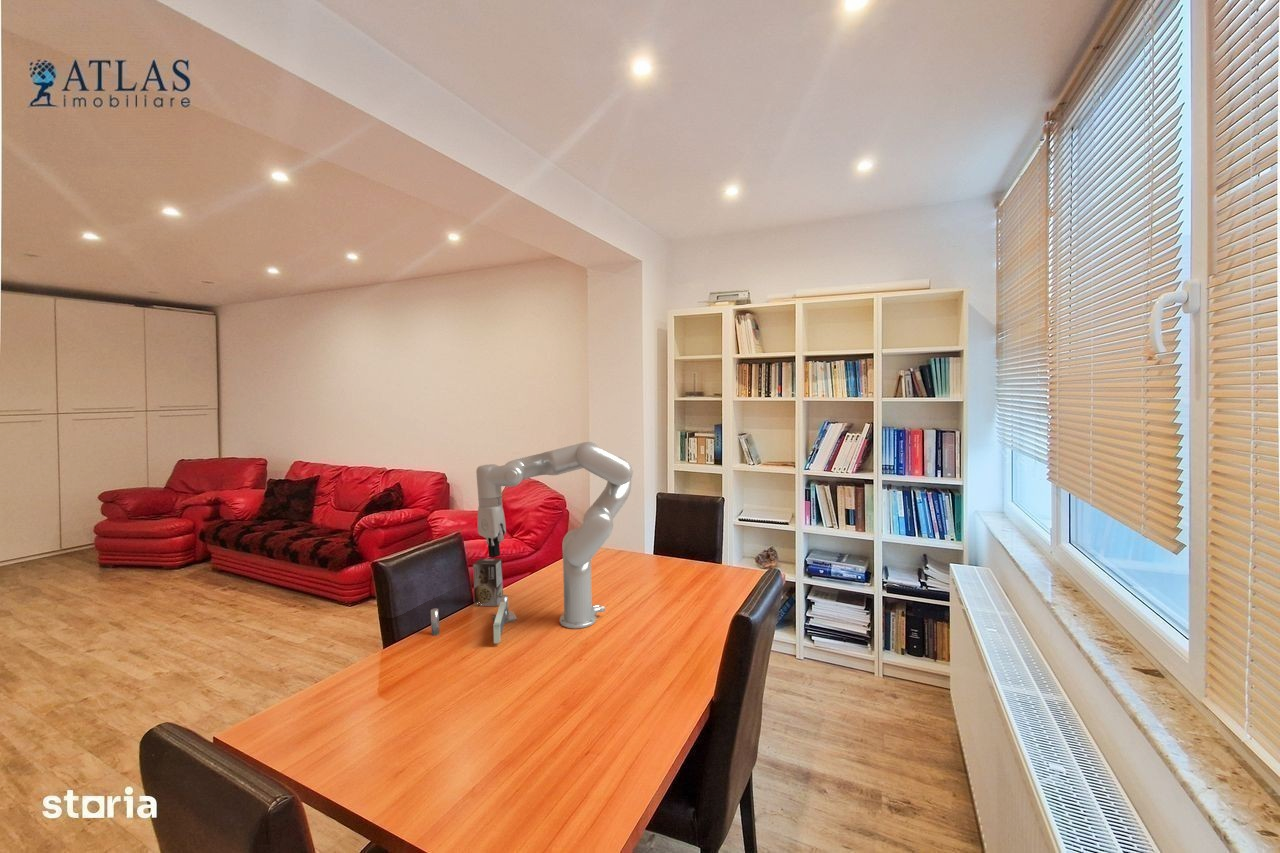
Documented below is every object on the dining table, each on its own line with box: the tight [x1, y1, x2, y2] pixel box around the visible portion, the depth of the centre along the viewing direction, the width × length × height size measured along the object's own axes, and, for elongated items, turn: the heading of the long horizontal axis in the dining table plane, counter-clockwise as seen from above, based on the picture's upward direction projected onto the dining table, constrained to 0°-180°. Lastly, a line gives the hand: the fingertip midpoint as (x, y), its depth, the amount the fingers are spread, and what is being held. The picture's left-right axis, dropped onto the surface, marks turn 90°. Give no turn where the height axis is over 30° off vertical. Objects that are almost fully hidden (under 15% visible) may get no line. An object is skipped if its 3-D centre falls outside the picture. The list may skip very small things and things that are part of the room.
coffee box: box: [472, 558, 504, 607], centre depth 188 cm, size 9×6×16 cm
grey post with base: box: [491, 594, 518, 624], centre depth 174 cm, size 7×7×8 cm
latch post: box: [430, 607, 440, 636], centre depth 164 cm, size 2×2×8 cm
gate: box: [492, 602, 506, 644], centre depth 163 cm, size 18×2×6 cm, turn 9°
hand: (494, 556), depth 166 cm, fingers closed
